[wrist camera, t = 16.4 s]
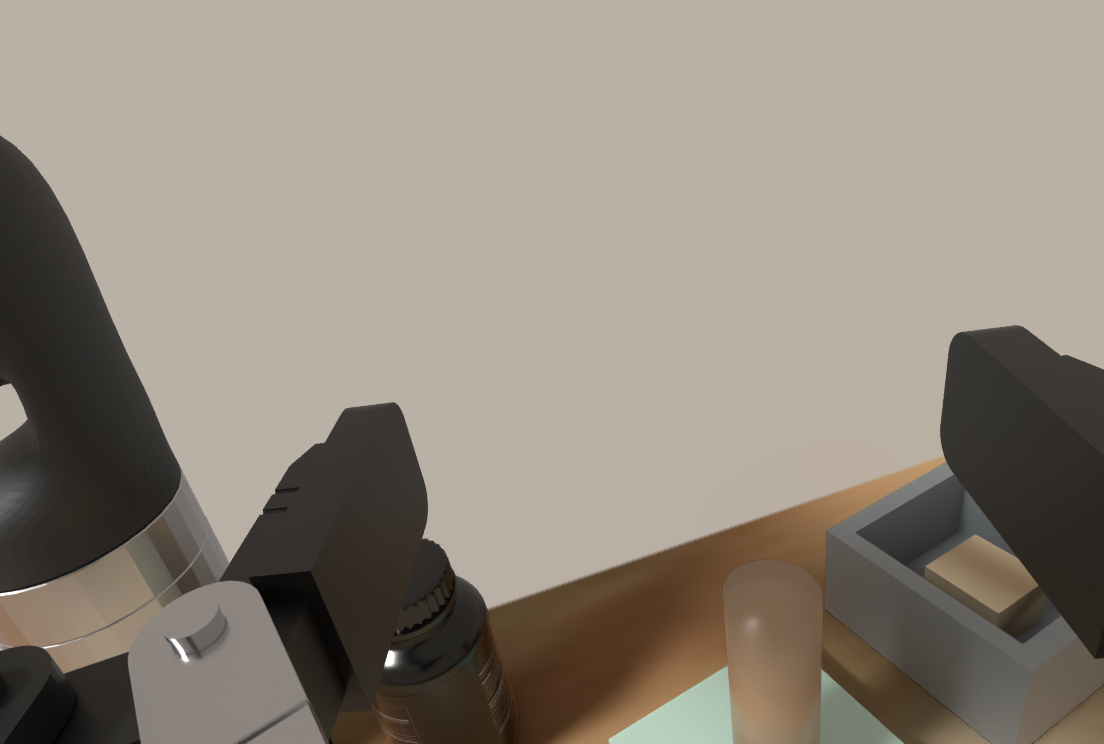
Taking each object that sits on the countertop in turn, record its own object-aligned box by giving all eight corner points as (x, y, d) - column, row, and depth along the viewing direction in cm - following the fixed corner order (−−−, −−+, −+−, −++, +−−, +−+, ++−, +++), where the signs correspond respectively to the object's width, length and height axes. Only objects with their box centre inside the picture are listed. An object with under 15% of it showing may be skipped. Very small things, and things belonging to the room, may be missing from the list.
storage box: (1011, 760, 32) (1031, 671, 29) (824, 609, 41) (826, 530, 38) (1152, 644, 36) (1181, 556, 33) (952, 529, 45) (963, 452, 42)
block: (990, 655, 36) (998, 613, 34) (920, 606, 39) (925, 566, 38) (1041, 618, 37) (1050, 576, 36) (969, 574, 40) (975, 534, 39)
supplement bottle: (462, 661, 42) (410, 504, 37) (546, 719, 38) (503, 552, 32) (370, 750, 38) (295, 589, 32) (453, 828, 34) (384, 657, 28)
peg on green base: (769, 1003, 26) (760, 798, 20) (613, 764, 35) (574, 572, 29) (968, 834, 30) (1012, 618, 24) (781, 657, 39) (778, 467, 33)
